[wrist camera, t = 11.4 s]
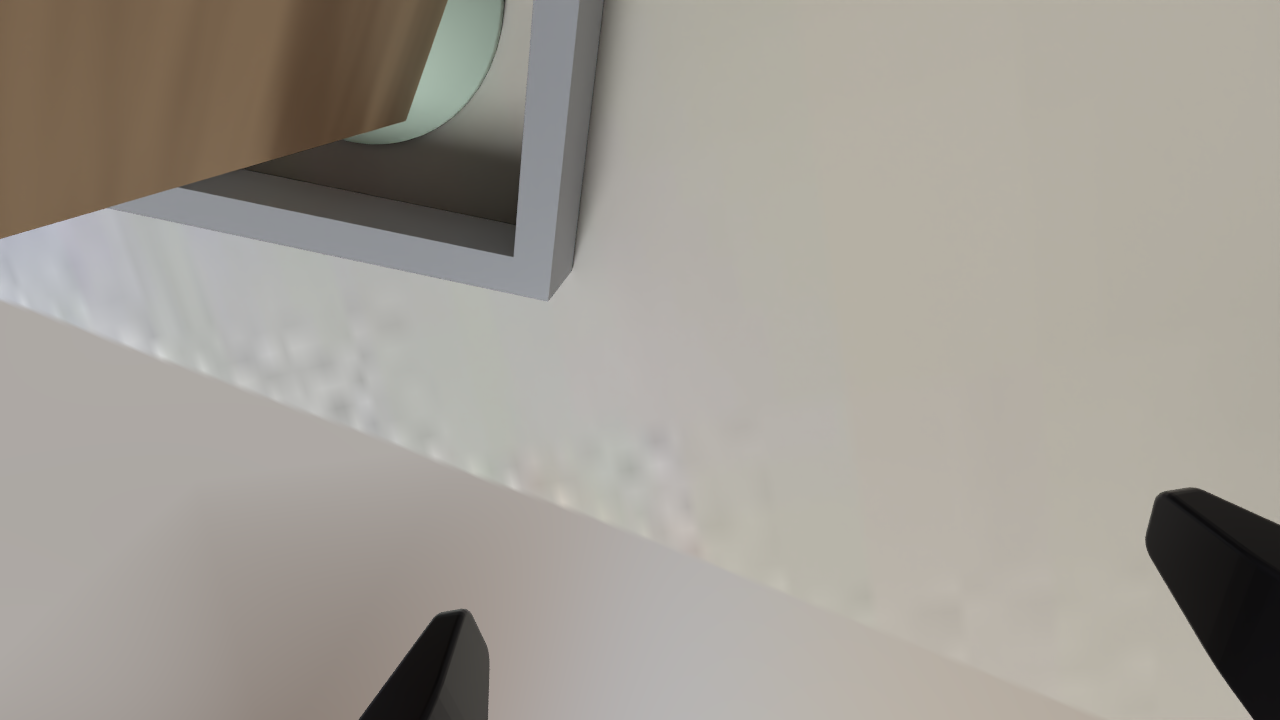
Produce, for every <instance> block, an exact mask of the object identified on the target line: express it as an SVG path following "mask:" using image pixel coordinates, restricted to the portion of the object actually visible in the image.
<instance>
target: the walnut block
mask: <svg viewBox="0 0 1280 720" xmlns="http://www.w3.org/2000/svg"><path fill="white" fill-rule="evenodd" d="M447 1H448V0H0V239H1V238H5V237H8V236H12V235H15V234H18V233H22V232H25V231H29V230H32V229H36V228H39V227H43V226H46V225H49V224H53V223H56V222H60V221H63V220H67V219H70V218H74V217H77V216H80V215H84V214H87V213H91V212H94V211H98V210H101V209H105V208H108V207H111V206H115V205H118V204H122V203H125V202H129V201H132V200H135V199H139V198H142V197H146V196H149V195H153V194H156V193H160V192H163V191H166V190H170V189H173V188H177V187H180V186H184V185H187V184H191V183H194V182H197V181H201V180H204V179H208V178H211V177H215V176H218V175H222V174H225V173H228V172H232V171H235V170H239V169H242V168H246V167H249V166H252V165H256V164H259V163H263V162H266V161H270V160H273V159H277V158H280V157H283V156H287V155H290V154H294V153H297V152H301V151H304V150H308V149H311V148H314V147H318V146H321V145H325V144H328V143H332V142H335V141H338V140H342V139H345V138H349V137H352V136H356V135H359V134H363V133H366V132H369V131H373V130H376V129H380V128H383V127H387V126H390V125H394V124H397V123H400V122H404V121H406V119H407V117H408V114H409V111H410V108H411V105H412V102H413V99H414V96H415V94H416V91H417V88H418V85H419V82H420V79H421V76H422V73H423V70H424V68H425V65H426V62H427V59H428V56H429V53H430V50H431V47H432V45H433V42H434V39H435V36H436V33H437V30H438V27H439V24H440V22H441V19H442V16H443V13H444V10H445V7H446V4H447Z"/></svg>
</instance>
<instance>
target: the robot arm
mask: <svg viewBox="0 0 1280 720" xmlns="http://www.w3.org/2000/svg"><path fill="white" fill-rule="evenodd" d="M1145 540H1146V548H1147V551H1148V553H1149V556H1150V558H1151V559H1152V561H1153V563H1154V565H1155V566H1156V568H1157V570H1158V571H1159V573H1160V575H1161V576H1162V578H1163V580H1164V581H1165V583H1166V585H1167V586H1168V588H1169V590H1170V592H1171V593H1172V595H1173V597H1174V598H1175V600H1176V602H1177V603H1178V605H1179V607H1180V608H1181V610H1182V612H1183V614H1184V615H1185V617H1186V619H1187V620H1188V622H1189V624H1190V625H1191V627H1192V629H1193V630H1194V632H1195V634H1196V635H1197V637H1198V639H1199V641H1200V642H1201V644H1202V646H1203V647H1204V649H1205V651H1206V652H1207V654H1208V655H1209V657H1210V659H1211V660H1212V662H1213V663H1214V665H1215V666H1216V668H1217V669H1218V671H1219V672H1220V674H1221V675H1222V677H1223V678H1224V679H1225V681H1226V682H1227V684H1228V685H1229V687H1230V688H1231V689H1232V691H1233V692H1234V693H1235V695H1236V696H1237V698H1238V699H1239V700H1240V702H1241V703H1242V704H1243V706H1244V707H1245V708H1246V710H1247V711H1248V713H1249V714H1250V715H1251V717H1252V718H1253V719H1254V720H1280V525H1279V524H1277V523H1275V522H1272V521H1270V520H1268V519H1266V518H1264V517H1261V516H1259V515H1257V514H1255V513H1252V512H1250V511H1248V510H1246V509H1244V508H1241V507H1239V506H1237V505H1235V504H1233V503H1230V502H1228V501H1226V500H1224V499H1222V498H1219V497H1217V496H1215V495H1213V494H1211V493H1208V492H1206V491H1204V490H1201V489H1198V488H1182V489H1176V490H1170V491H1164V492H1162V493H1160V494H1159V495H1158V496H1157V497H1156V498H1155V501H1154V505H1153V509H1152V513H1151V516H1150V520H1149V524H1148V528H1147V532H1146V537H1145ZM488 693H489V653H488V648H487V645H486V643H485V641H484V639H483V637H482V635H481V633H480V631H479V629H478V626H477V624H476V622H475V620H474V618H473V616H472V614H471V613H470V611H468V610H467V609H458V610H452V611H446V612H441V613H439V614H438V615H436V616H435V617H434V618H433V619H432V621H431V622H430V623H429V625H428V626H427V627H426V629H425V630H424V631H423V633H422V634H421V636H420V637H419V638H418V640H417V641H416V642H415V644H414V645H413V647H412V648H411V649H410V651H409V652H408V653H407V655H406V656H405V657H404V659H403V660H402V661H401V663H400V664H399V666H398V667H397V668H396V670H395V671H394V672H393V674H392V675H391V676H390V678H389V679H388V681H387V682H386V683H385V685H384V686H383V687H382V689H381V690H380V691H379V693H378V694H377V696H376V697H375V698H374V700H373V701H372V702H371V704H370V705H369V706H368V708H367V709H366V710H365V712H364V713H363V715H362V716H361V717H360V719H359V720H488V696H489V694H488Z"/></svg>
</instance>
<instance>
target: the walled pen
mask: <svg viewBox="0 0 1280 720" xmlns="http://www.w3.org/2000/svg"><path fill="white" fill-rule="evenodd" d="M603 4H604V0H534V1H533V14H532V26H531V39H530V52H529V65H528V78H527V91H526V104H525V117H524V130H523V142H522V155H521V168H520V181H519V194H518V207H517V220H516V225H512V224H508V223H503V222H498V221H493V220H488V219H483V218H478V217H473V216H469V215H464V214H459V213H454V212H449V211H444V210H439V209H434V208H429V207H425V206H420V205H415V204H410V203H405V202H400V201H395V200H390V199H385V198H381V197H376V196H371V195H366V194H361V193H356V192H351V191H346V190H341V189H337V188H332V187H327V186H322V185H317V184H312V183H307V182H302V181H298V180H293V179H288V178H283V177H278V176H273V175H268V174H263V173H258V172H254V171H249V170H244V169H239V170H235V171H232V172H228V173H225V174H222V175H218V176H215V177H211V178H208V179H204V180H201V181H197V182H194V183H191V184H187V185H184V186H180V187H177V188H173V189H170V190H166V191H163V192H160V193H156V194H153V195H149V196H146V197H142V198H139V199H135V200H132V201H129V202H125V203H122V204H118V205H115V206H111V207H108V208H110V209H114V210H119V211H124V212H128V213H133V214H138V215H143V216H147V217H152V218H157V219H161V220H166V221H171V222H176V223H180V224H185V225H190V226H194V227H199V228H204V229H209V230H213V231H218V232H223V233H227V234H232V235H237V236H242V237H246V238H251V239H256V240H260V241H265V242H270V243H274V244H279V245H284V246H289V247H293V248H298V249H303V250H307V251H312V252H317V253H322V254H326V255H331V256H336V257H340V258H345V259H350V260H355V261H359V262H364V263H369V264H373V265H378V266H383V267H388V268H392V269H397V270H402V271H406V272H411V273H416V274H421V275H425V276H430V277H435V278H439V279H444V280H449V281H454V282H458V283H463V284H468V285H472V286H477V287H482V288H487V289H491V290H496V291H501V292H505V293H510V294H515V295H520V296H524V297H529V298H534V299H538V300H543V301H549V300H550V298H551V297H552V296H553V294H554V293H555V292H556V290H557V289H558V288H559V287H560V285H561V284H562V283H563V281H564V280H565V279H566V277H567V276H568V275H569V274H570V272H571V271H572V265H573V257H574V248H575V240H576V232H577V223H578V215H579V206H580V198H581V189H582V181H583V173H584V164H585V156H586V147H587V139H588V131H589V122H590V114H591V105H592V97H593V88H594V80H595V72H596V63H597V55H598V46H599V38H600V30H601V21H602V13H603ZM503 11H504V0H448V1H447V4H446V7H445V10H444V13H443V16H442V19H441V22H440V24H439V27H438V30H437V33H436V36H435V39H434V42H433V45H432V47H431V50H430V53H429V56H428V59H427V62H426V65H425V68H424V70H423V73H422V76H421V79H420V82H419V85H418V88H417V91H416V94H415V96H414V99H413V102H412V105H411V108H410V111H409V114H408V117H407V119H406V121H404V122H400V123H397V124H394V125H390V126H387V127H383V128H380V129H376V130H373V131H369V132H366V133H363V134H359V135H356V136H352V137H349V138H345V139H342V140H346V141H350V142H355V143H363V144H390V143H397V142H403V141H406V140H409V139H413V138H416V137H419V136H422V135H424V134H427V133H429V132H431V131H433V130H435V129H436V128H438V127H440V126H442V125H443V124H445V123H446V122H447V121H449V120H450V119H451V118H453V117H454V116H455V115H456V114H457V113H458V112H459V111H460V110H461V109H462V108H463V107H464V106H465V105H466V104H467V103H468V102H469V101H470V100H471V98H472V97H473V96H474V94H475V93H476V92H477V90H478V89H479V87H480V86H481V84H482V82H483V80H484V78H485V76H486V75H487V73H488V71H489V68H490V66H491V63H492V61H493V58H494V55H495V53H496V50H497V46H498V41H499V37H500V33H501V28H502V20H503Z"/></svg>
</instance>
